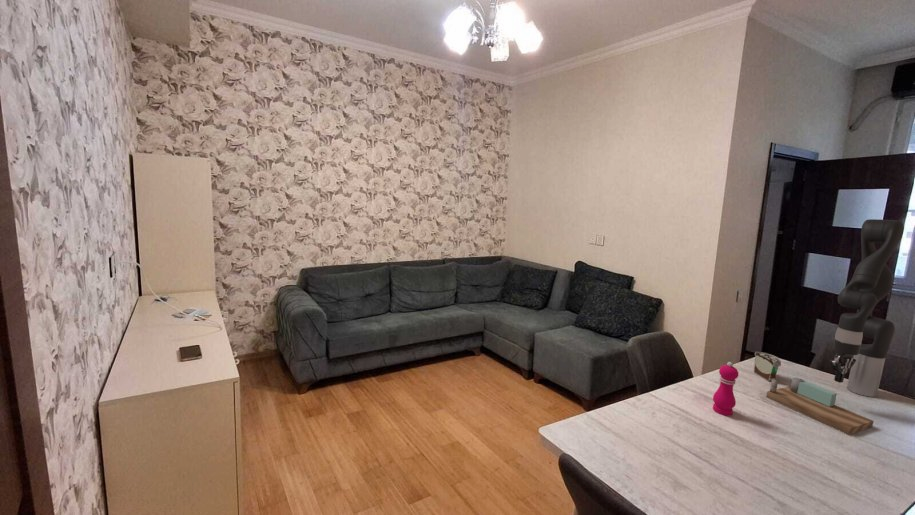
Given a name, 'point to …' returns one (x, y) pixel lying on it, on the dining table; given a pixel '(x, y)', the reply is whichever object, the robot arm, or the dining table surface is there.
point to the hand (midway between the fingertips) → (838, 381)
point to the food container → (766, 365)
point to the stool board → (819, 410)
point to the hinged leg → (813, 392)
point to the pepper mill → (725, 390)
